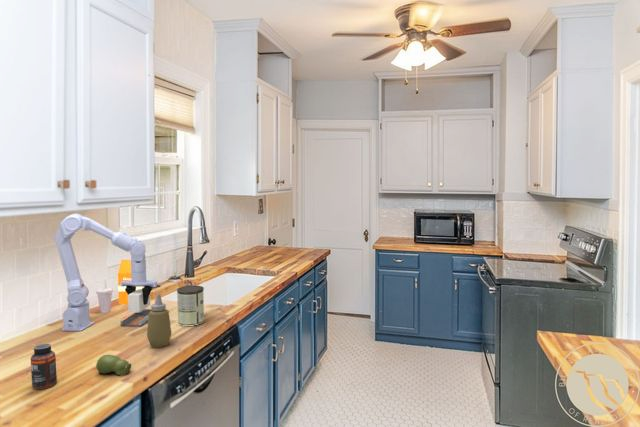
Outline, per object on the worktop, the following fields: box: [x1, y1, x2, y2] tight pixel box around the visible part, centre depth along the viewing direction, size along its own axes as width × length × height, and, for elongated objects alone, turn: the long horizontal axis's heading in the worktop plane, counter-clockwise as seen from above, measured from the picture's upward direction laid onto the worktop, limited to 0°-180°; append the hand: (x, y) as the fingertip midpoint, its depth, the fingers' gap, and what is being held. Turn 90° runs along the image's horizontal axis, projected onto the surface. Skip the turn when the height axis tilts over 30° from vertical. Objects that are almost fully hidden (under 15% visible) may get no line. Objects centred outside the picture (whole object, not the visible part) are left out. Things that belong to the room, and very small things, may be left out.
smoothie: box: [95, 279, 114, 314], centre depth 190 cm, size 6×6×14 cm
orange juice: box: [117, 259, 144, 305], centre depth 205 cm, size 8×9×20 cm
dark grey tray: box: [119, 308, 152, 328], centre depth 180 cm, size 16×8×2 cm, turn 178°
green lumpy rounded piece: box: [96, 354, 132, 376], centre depth 131 cm, size 6×5×10 cm
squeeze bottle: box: [146, 293, 172, 348], centre depth 152 cm, size 8×8×18 cm
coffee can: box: [176, 285, 205, 327], centre depth 176 cm, size 10×10×14 cm
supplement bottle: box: [30, 343, 58, 390], centre depth 122 cm, size 6×6×11 cm
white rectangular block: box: [127, 289, 151, 313], centre depth 179 cm, size 10×4×7 cm, turn 177°
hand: (139, 303), depth 179 cm, fingers closed on white rectangular block, 4 cm apart
